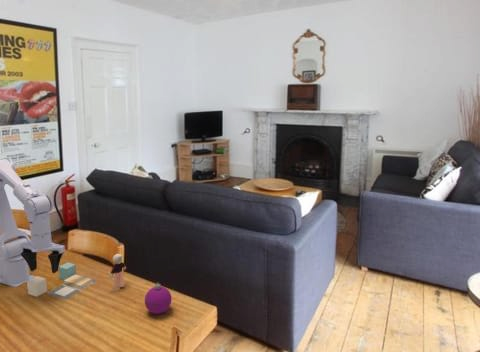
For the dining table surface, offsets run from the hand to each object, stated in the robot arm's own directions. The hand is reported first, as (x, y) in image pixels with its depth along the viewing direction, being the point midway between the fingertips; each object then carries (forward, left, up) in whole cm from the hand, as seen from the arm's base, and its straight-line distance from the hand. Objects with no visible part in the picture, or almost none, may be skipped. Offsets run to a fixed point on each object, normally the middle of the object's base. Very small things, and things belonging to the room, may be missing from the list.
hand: (44, 270), depth 121 cm
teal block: (-3, +11, -9) cm, 14 cm away
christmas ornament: (+40, +8, -9) cm, 41 cm away
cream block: (-3, -1, -9) cm, 9 cm away
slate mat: (+4, +7, -9) cm, 12 cm away
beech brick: (+4, +9, -8) cm, 13 cm away
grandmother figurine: (+19, +14, -9) cm, 25 cm away
